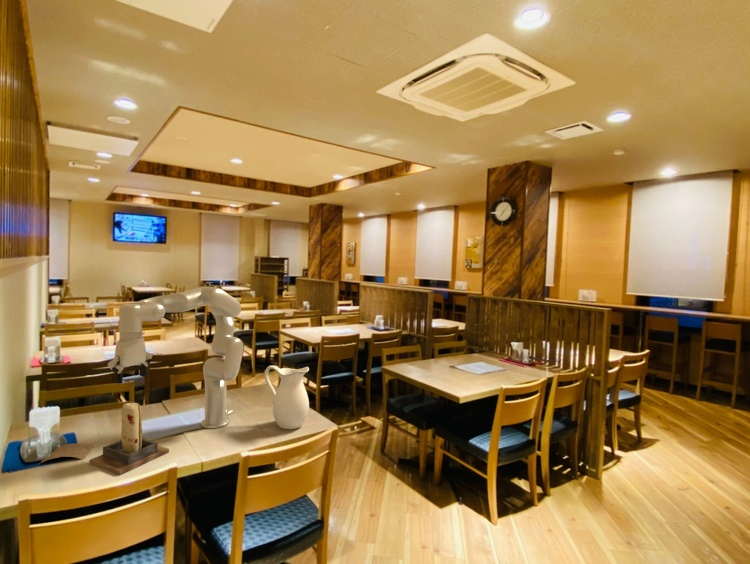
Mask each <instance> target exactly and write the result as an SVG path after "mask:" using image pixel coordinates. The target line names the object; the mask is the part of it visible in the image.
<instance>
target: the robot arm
mask: <svg viewBox="0 0 750 564" xmlns="http://www.w3.org/2000/svg"><path fill="white" fill-rule="evenodd" d="M204 306H208V309H209V311H210V313H211V315H213V318H214V320H215V329H214V335H213V339H212V343H211V352H212V353H213V354H215V355H217V356H221V357H211V358H208V359H207V360H205V361H204V364H203V365H202V372H203V373H202V374H203V378H204V419H203V420H202V421H201V422H200V426H201V427H202V428H204V429H219V428H223V427H225V426H227V425H229V423H230V418H229V416H230V415H232V414H234V410H232V409H230V410H227V382H231V381H234V380H235V379H236V378H237V376H238V374H239V371H240V369H241V363H242V360H243V359H242V358H243V354H244V343H243V341H242V339H240V338H239V337H236V336H234V332H235V325H236V324H235V320H234V318H235V317H238V316H239V315H240V313H241V312H242V305H241V303H240V301H239V300H238V299H236V298H235V297H234V296H232V295H230V294H229V293H227V292H226V291H224V290H223V289H221V288H220V287H217V286H199V287H196V288H191V289H188V290H185V291H180V292H176V293H175V292H174V293H170V294H163V295H159V296H158V295H157V296H153V297H149V298H145V299H141V300H139V301H136V302H134V303H126V304H125V303H124V304H121V305H120V306H119V308H118V311H119V312H118V314H119V315H118V318H119V320H118V322H119V323H118V326H119V333H118V335H119V340H117V341H116V344H115V351H114V358H113V359H112V360H110V361H109V362H108V363H107V366H108V367H109V370H110V371H111V372H113V373H114V381H115V383H116V384H121V385H122V384H123V383H124V381H123V380H124V378H123V374H124V373H123V371H124V369H125V368H129V367H132V366H136V365H137V366H138V365H140V366H139V376H140V377H144V378H146V377H147V375H148V374H147V373H148V367H149V364H150V363H151V362H152V361H151V360H152V358H153V353H150V352H148V351H147V350H146V342H145V338H144V337H143V335H145V330H143V322H157V321H160V320H162V319H163V318H164V317H165V314H166V313H184V312H187V311H191V310H193V309H194V310H195V309H196V308H197V309H198V308H200V307H204ZM222 357H223V358H222Z"/></svg>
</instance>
